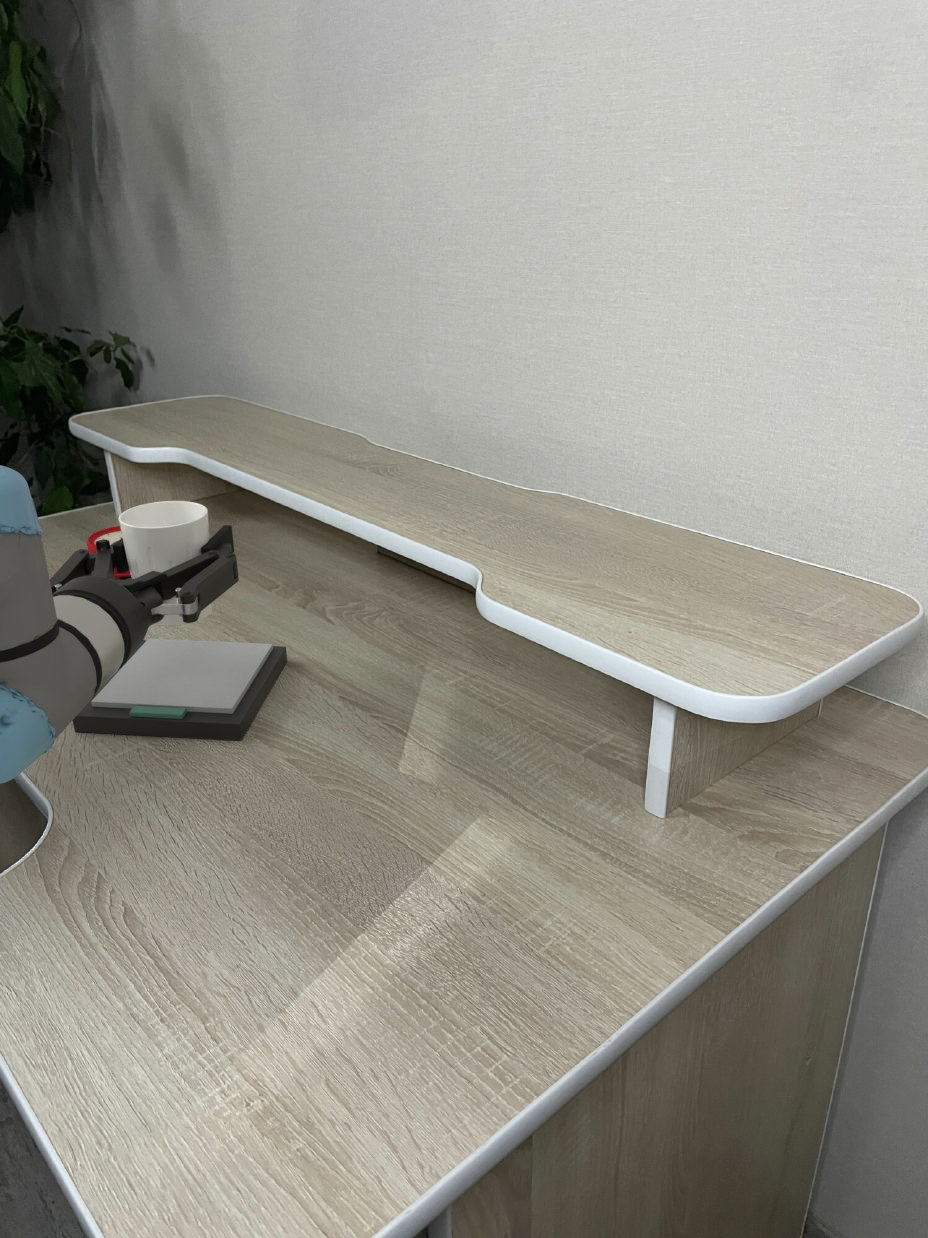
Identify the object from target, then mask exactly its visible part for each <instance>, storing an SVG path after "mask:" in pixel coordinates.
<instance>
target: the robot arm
mask: <svg viewBox="0 0 928 1238" xmlns="http://www.w3.org/2000/svg"><path fill="white" fill-rule="evenodd" d="M35 505H36V504H35V501H34V499H33V498H32V494H31V491H30V487H29V484H28V482H27V480H26V478H25V477H24V476H23V475H22V474H21V473H20V472H18V471H17V470H15V469H13V468H10V467H8V466H5V465H0V785H1V784H5V783H8V782H9V781H12V780H13V779H15V778H17V777H18V776H20V775H21V774H22V773H23V772H24V771H25V770H27V768H29V767H30V765H32V764H33V763H35V761H36V760H37V759H39V758H40V757H41V756H42V755H44V754H46V753H47V752H49V751H50V749H52V747H53V746H54V744H55V741H56V740H57V738H58V737H59V736H60V735H61V734H62V733H63V732H64V731H65V729H67V727H68V726H69V725H70V724H71V723H72V722H73V719H74V718H75V717H76V716H77V715H78V714H79V713H80V711H81V710H82V709H83V708H84V707H85V706H86V705H87V704H88V702H89V701H90V700H91V699H92V698H93V697H94V696H95V695H96V694H97V693H98V692H99V691H100V689H101V688H102V687H103V686H104V685H105V684H106V683H107V682H108V681H109V680H110V679H111V678H112V676H113V675H114V674H115V673H116V672H117V671H118V670H119V669H120V668H121V667H122V666H123V665H124V664H125V663H126V662H127V661H128V660H129V659H130V657H131V656H132V655H133V654H134V653H135V652H136V651H137V650H138V649H139V647H140V646H141V644H142V642H143V640H145V637H146V635H147V633H148V630H149V628H150V627H151V626H154V625H153V624H155V623H157V622H159V621H161V620H162V619H163V618H164V616H165V615H176V614H179V616H180V617H183V622H185V623H190V624H193V623H196V622H198V621H197V620H198V618H199V615H200V613H201V611H202V610H203V609H205V608H206V607H207V606H208V605H210V604H211V603H212V602H213V603H214V602H215V601H216V600H217V599H218V598H220V597H221V596H222V595H224V594H225V593H226V592H227V591H229V590H230V588H232V587H233V586H235V585H236V584H237V583H238V582H240V577H239V569H238V558H237V554H235V542H234V533H233V525H231V524H224V525H222V526H221V528H220V529H218V531H216V533H215V534H214V535H212V537H210V540H209V541H208V542H207V543H206V544H205V545H204V546H203V547H202V548H201V555H199V556H197V557H195V558H193V559H190V560H188V561H186V562H184V563H181V564H179V565H177V566H175V567H173V568H170V569H168V570H166V571H164V572H162V573H161V572H157V571H151V572H149V573H146V574H144V575H142V576H140V577H138V578H135V579H132V577H130V578H126V579H121V578H120V579H114V578H115V571H114V568H115V567H116V569H117V573H126V572H127V571H128V570H129V566H128V562H127V557H126V552H125V547H124V542H123V538H121V539H120V540H119V541H116V542H114V543H112V545H110V542H109V540H98V541H96V542H95V543H96V548H97V553H94V554H89V550H88V548H80V549H77V550H75V551H74V552H73V553H72V554H71V555H70V556H69V557H68V559H67V560H66V561H65V562H63V564H62V565H61V567H60V568H59V569H57V571H56V572H55V573H54V574H53V575H52V576H51V578H50V573H49V569H48V568H49V567H48V564H47V558H46V553H45V548H44V544H43V543H44V542H43V537H42V536H43V535H44V531H43V528H42V527H41V526H40V525H41V524H40V522H39V518H38V514H37V509H36V506H35Z"/></svg>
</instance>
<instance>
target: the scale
mask: <svg viewBox="0 0 928 1238" xmlns="http://www.w3.org/2000/svg"><path fill="white" fill-rule="evenodd" d="M287 662H288V654H287V646H283V645H274V644H273V643H263V642H262V643H261V642H236V641H217V640H215V641H213V640H193V639H192V640H191V639H170V638H147V639H144V640H143V642H142V644H141V646H140V647H139V649H138V650H137V651H136V652H135V653H134V654H133V655H132V656H131V657H130V659H129V660H128V661H127V662H126V663H125V664H124V665H123V666H122V667H121V668H120V669H119V670H118V671H117V672H116V673H115V674H114V675H113V676H112V678H111V679H110V680H109V681H108V682H107V683H106V684H105V685H104V686H103V687H102V688H101V689H100V691H99V692H98V693H97V694H96V695H95V696H94V697H93V698H92V699H91V700H90V701H89V702H88V704H87V705H86V706H85V707H84V708H83V709H82V710H81V711H80V713H79V714H78V715H77V716H76V717H75V718H74V719H73V720H72V725H73V729H74V732H75V733H87V734H88V733H90V734H107V735H108V734H109V735H110V734H111V735H124V736H125V735H126V736H128V735H129V736H146V737H165V738H182V739H183V738H184V739H200V740H201V739H202V740H203V739H204V740H223V741H238V742H239V741H243V739H244V737H245V735H246V733H247V732H248V730H249V728H250V727H251V725H252V723H253V722H254V720H255V718H256V716H257V714H258V712H259V711H260V709H261V707H262V706H263V704H264V702H265V700H266V699H267V697H268V695H269V694H270V692H271V690H272V688H273V687H274V685H275V684H276V682H275V681H277V680H278V678H279V676H280V675H281V673H282V671H283V669H284V668H285V666H286V664H287Z"/></svg>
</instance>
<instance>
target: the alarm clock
mask: <svg viewBox="0 0 928 1238" xmlns="http://www.w3.org/2000/svg"><path fill="white" fill-rule="evenodd" d="M121 538H122V533H121V528H120V525H117V526H111V527H107V528H103V529H101V530H97V531H96V532H92V534H90V535H89V536H88V538H87V540H86V547H87V550H89V554H94V553H97V548H96V543H95V542H96V541H98V540H109V542H110V545H112V543H114V542H116V541H119V540H120V539H121ZM114 571H115V578H114V579H120V580H121V578H127V577H131V574H130V570H128V571H127V572H126V573H117V569H116V567H115V568H114Z"/></svg>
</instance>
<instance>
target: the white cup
mask: <svg viewBox="0 0 928 1238" xmlns="http://www.w3.org/2000/svg"><path fill="white" fill-rule="evenodd" d="M118 523H119V526H120V528H121V533H122V538H123V542H124V547H125V552H126V557H127V562H128V566H129V570H130V574H131V576H130V578H132V579H135V578H138V577H140V576H142V575H144V574H146V573H149V572H151V571H157V572H161V573H162V572H164V571H166V570H168V569H170V568H173V567H175V566H177V565H179V564H181V563H184V562H186V561H188V560H190V559H193V558H195V557H197V556H199V555H201V548H202V547H203V546H204V545H205V544H206V543H207V542H208V541H209V540H210V539H211V535H210V520H209V510H208V508H207V507H206V506H205V505H203V504H201V503H199V502H195V501H194V502H193V501H187V500H163V501H154V502H148V503H143V504H140V505H137V506H133V507H130V508H127V509H126V510H124V511H123V512H121V513H120V514H119V516H118ZM213 610H214V601H213V602H212V603H211V604H210V605H208V606H207V607H206V608H205V609H203V610H202V611H201V613H200V615H199V618H198V620H197V621H196V622H198V621H202V620H204V619H206V617H208V616H209V615H211V614H212V612H213ZM190 624H191V623H185V622H183V617H180V616H179V614H176V615H165V616H164V618H163V619H162V620H161V621H159V622H157V623H155V624H153V625H152V626H157V627H178V626H179V627H180V626H184V625H190Z"/></svg>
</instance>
